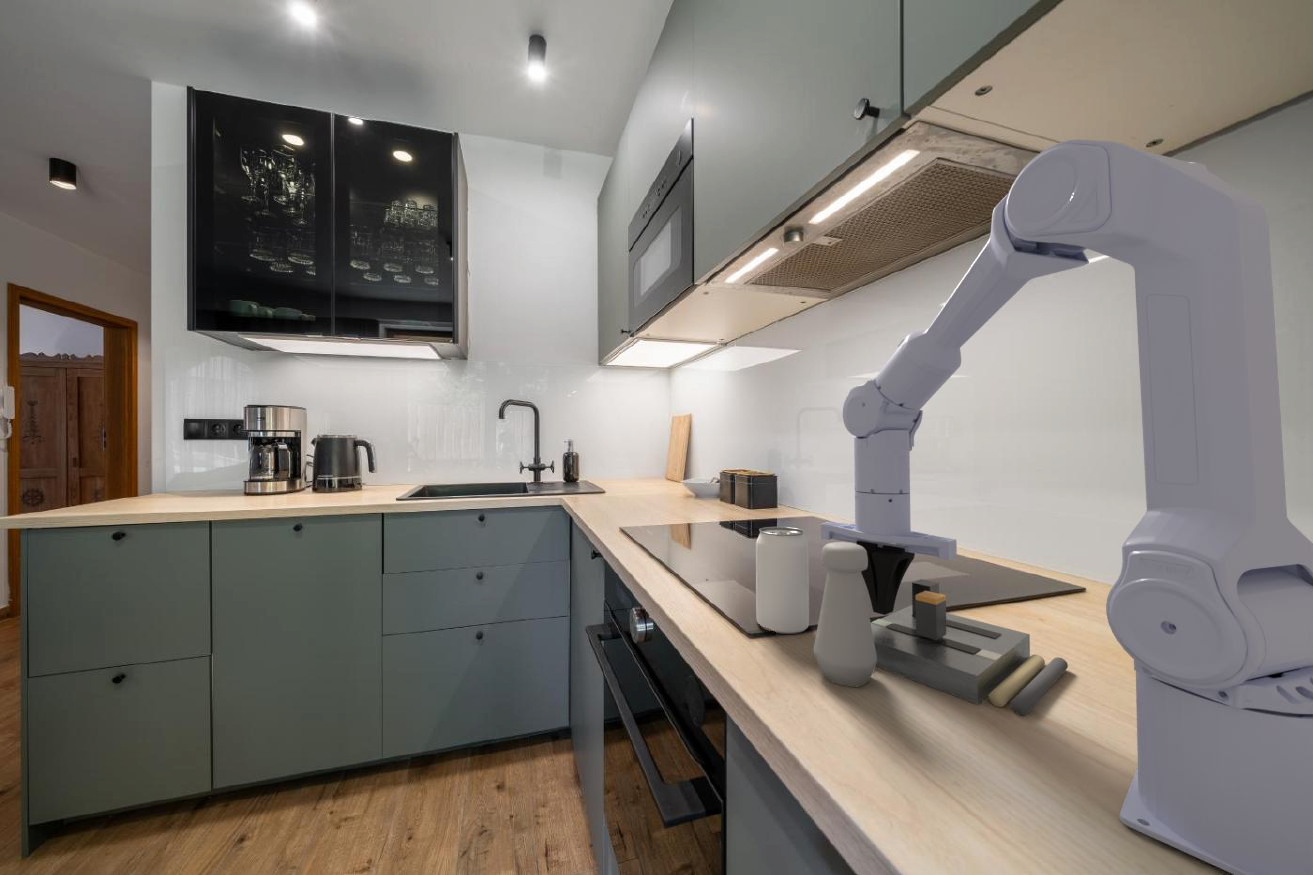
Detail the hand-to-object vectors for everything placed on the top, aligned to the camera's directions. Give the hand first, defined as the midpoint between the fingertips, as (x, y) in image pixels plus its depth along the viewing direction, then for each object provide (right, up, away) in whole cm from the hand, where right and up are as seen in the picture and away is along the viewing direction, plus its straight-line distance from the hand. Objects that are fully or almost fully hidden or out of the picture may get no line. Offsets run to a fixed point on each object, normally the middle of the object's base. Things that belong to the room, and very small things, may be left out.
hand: (883, 611), depth 53 cm
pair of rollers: (+10, -4, -9) cm, 14 cm away
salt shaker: (-7, -4, -7) cm, 11 cm away
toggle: (+3, -1, -4) cm, 5 cm away
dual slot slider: (+5, -4, -3) cm, 7 cm away
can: (-10, -4, +6) cm, 12 cm away
